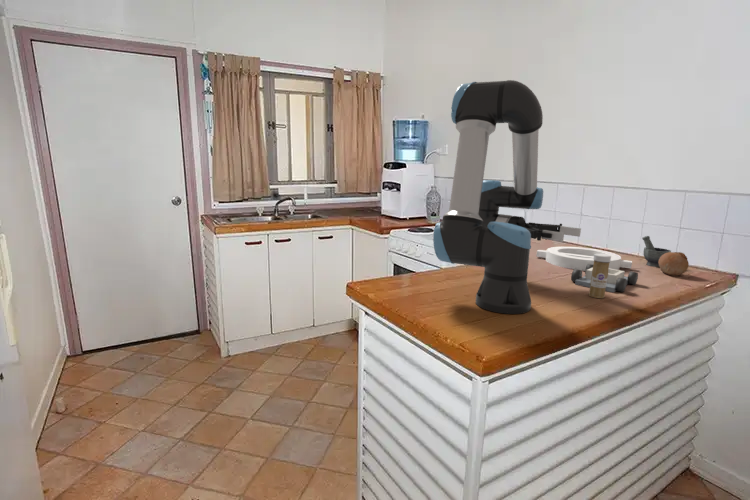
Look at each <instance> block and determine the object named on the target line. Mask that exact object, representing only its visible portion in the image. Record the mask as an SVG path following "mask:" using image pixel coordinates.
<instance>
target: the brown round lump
mask: <svg viewBox="0 0 750 500" xmlns="http://www.w3.org/2000/svg"><path fill="white" fill-rule="evenodd" d="M658 263H659V267H658V268H660V271H661V272H662V273H663V274H664V275H668V276H672V277H675V276H681V275H683V274H684V273H685V272H687V271H688V269H689V267H690V266H689V265H690V263H689V260H688V257H687V256H686V254H685V253H684V252H681V251H680V252H679V251H676V252H675V251H671V252H668V253H665V254H663V255H662V256H661V257H660V259H659V262H658Z"/></svg>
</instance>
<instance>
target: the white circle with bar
mask: <svg viewBox="0 0 750 500" xmlns="http://www.w3.org/2000/svg"><path fill="white" fill-rule="evenodd" d="M597 253H599V254H607V255H610V256H611V260H610V263H609V268H610V269H615V270H620V268H623V269H625V268H626V269H632V265H633V261H632V260H627V259H626V260H625V259H622V256H621V255H619V254H617V253H614V252H610V251H606V250H602V249H595V248H590V247H581V246H552V247H548V248H547V249H546V250H545V249H538V250H536V258H537V257H539V258H543V259H545V262H547V263H549V264H550V265H553V266H556V267H560V268H563V269H570V270H574V269H577V270H581V271H582V272H583V271H584V272H585V269H586V266H587V264H594V254H597Z"/></svg>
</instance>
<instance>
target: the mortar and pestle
mask: <svg viewBox="0 0 750 500" xmlns="http://www.w3.org/2000/svg"><path fill="white" fill-rule="evenodd" d="M641 239H642V240H643V243H644V244H645V247H644V248H643V256H644V259H645V260H646V265H647V266H648V267H653V268H660V267H659V263H658V262H659V259H660V257H661V256H662V255H663V254H665V253H668V252H672V250H671V249H667V248H661V247H655V245H653V243H652V240H651V237H650V235H646V236H643V237H642V238H641ZM646 265H645V266H646Z"/></svg>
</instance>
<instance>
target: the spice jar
mask: <svg viewBox="0 0 750 500" xmlns="http://www.w3.org/2000/svg"><path fill="white" fill-rule="evenodd" d="M610 260H611V256H610V255H607V254H599V253H597V254H594V264H593V269H592V275H591V283H590V287H589V292H588V296H589V297H591V298H595V299H604V298H605V296H606V291H605V289H606V284H607V277H608V269H609V263H610Z"/></svg>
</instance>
